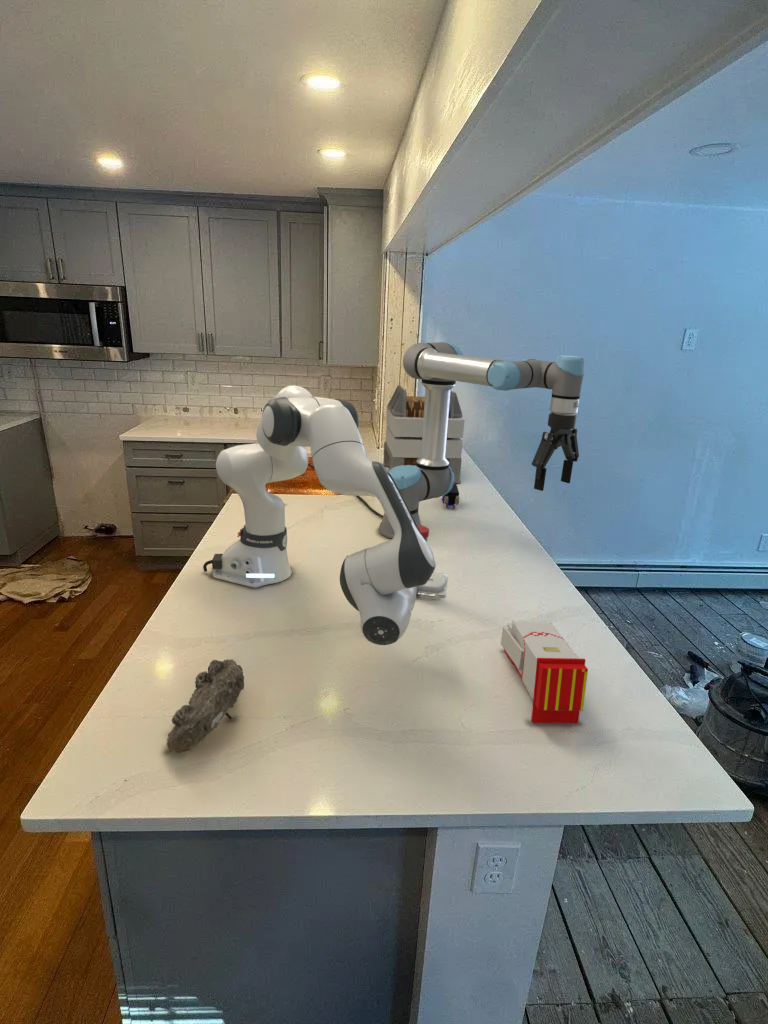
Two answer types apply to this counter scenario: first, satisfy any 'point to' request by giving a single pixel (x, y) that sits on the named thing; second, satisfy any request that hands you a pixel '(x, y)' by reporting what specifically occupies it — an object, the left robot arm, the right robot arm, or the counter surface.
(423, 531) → the lid
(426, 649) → the counter surface
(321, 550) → the counter surface
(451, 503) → the figurine character
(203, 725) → the fossil
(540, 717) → the toy
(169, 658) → the counter surface
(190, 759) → the counter surface
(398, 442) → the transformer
